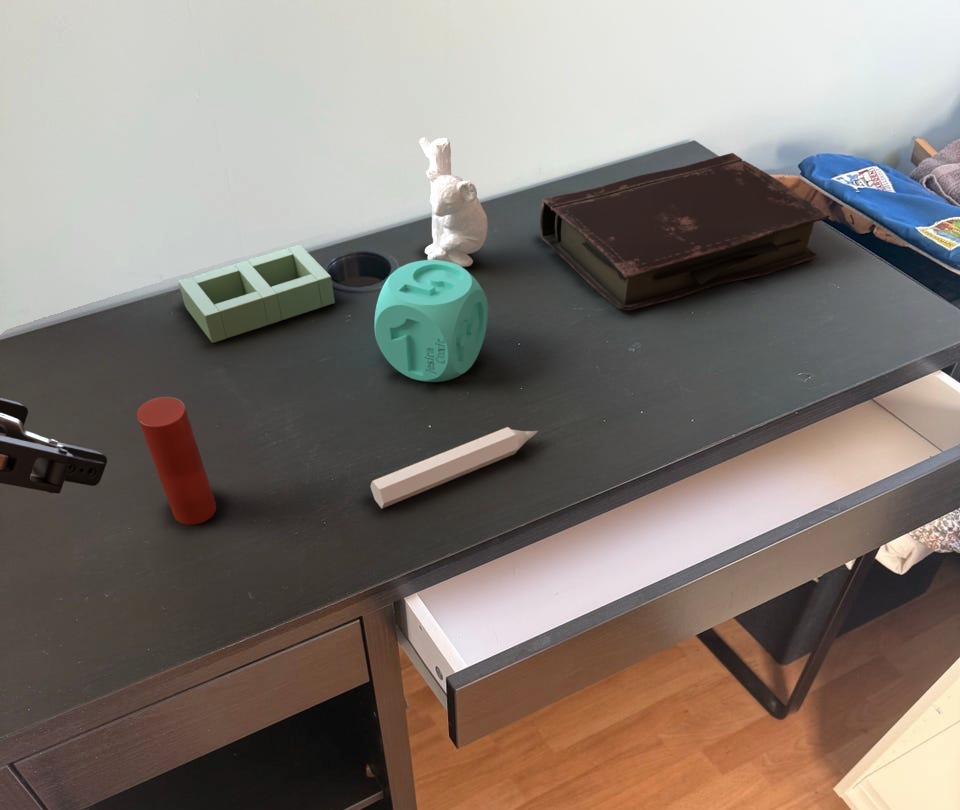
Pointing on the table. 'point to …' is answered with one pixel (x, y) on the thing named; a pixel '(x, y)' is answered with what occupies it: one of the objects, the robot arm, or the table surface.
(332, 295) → the two-slot green holder
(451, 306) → the decorative dice
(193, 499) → the peg
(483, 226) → the koala figurine
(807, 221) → the diary
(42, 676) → the table surface
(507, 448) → the unpainted wooden pencil
